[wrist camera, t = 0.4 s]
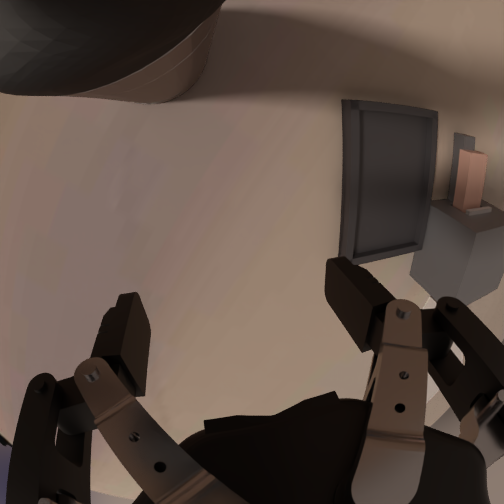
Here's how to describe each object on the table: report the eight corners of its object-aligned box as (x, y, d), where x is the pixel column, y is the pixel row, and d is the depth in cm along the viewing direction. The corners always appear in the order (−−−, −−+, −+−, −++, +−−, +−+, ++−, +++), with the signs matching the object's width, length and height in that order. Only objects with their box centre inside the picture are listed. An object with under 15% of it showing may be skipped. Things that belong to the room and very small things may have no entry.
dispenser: (430, 128, 27) (491, 146, 19) (482, 138, 29) (531, 155, 20) (409, 274, 38) (449, 314, 29) (461, 258, 40) (497, 288, 31)
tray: (341, 99, 24) (350, 99, 23) (427, 109, 26) (437, 111, 24) (337, 260, 34) (344, 267, 32) (414, 243, 35) (421, 249, 34)
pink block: (459, 149, 27) (470, 152, 25) (477, 151, 28) (487, 154, 26) (445, 241, 34) (453, 248, 32) (463, 237, 35) (471, 243, 33)
